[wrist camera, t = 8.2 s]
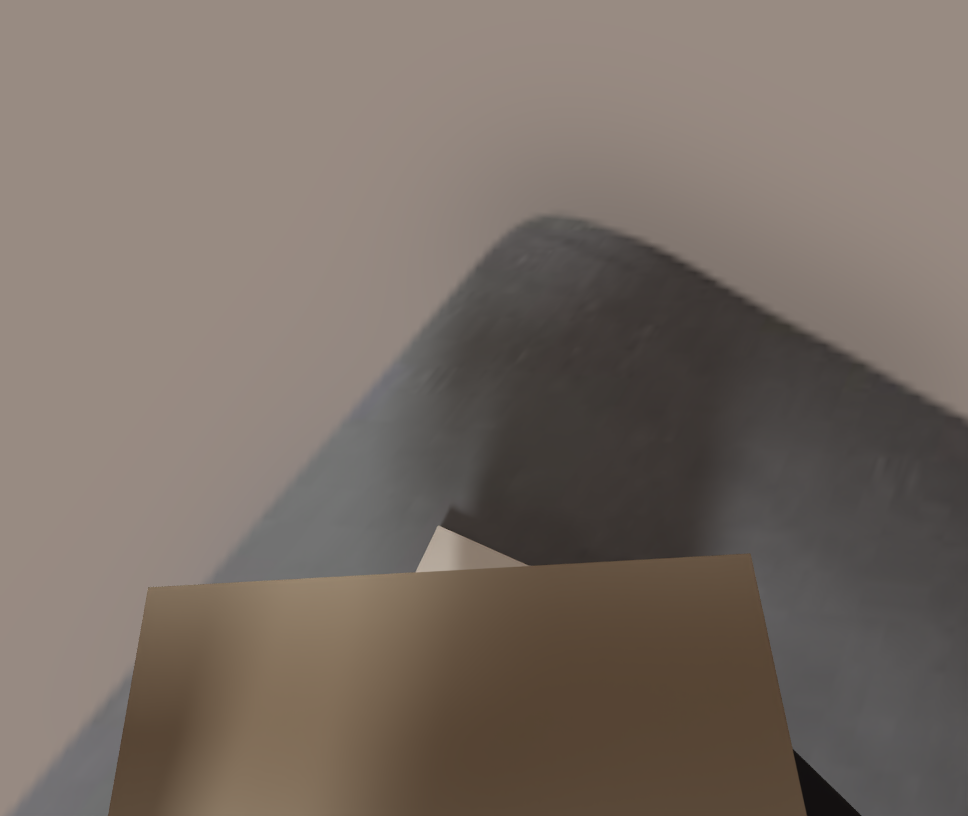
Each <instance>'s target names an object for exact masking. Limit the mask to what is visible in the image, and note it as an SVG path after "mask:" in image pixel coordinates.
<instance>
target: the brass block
mask: <svg viewBox="0 0 968 816" xmlns="http://www.w3.org/2000/svg"><path fill="white" fill-rule="evenodd" d="M108 816H807V814H806V810H805V805H804V800H803V796H802V791H801V786H800V782H799V777H798V772H797V768H796V763H795V758H794V754H793V749H792V744H791V740H790V735H789V731H788V726H787V721H786V717H785V712H784V707H783V703H782V698H781V693H780V689H779V684H778V679H777V675H776V670H775V665H774V661H773V656H772V651H771V647H770V642H769V638H768V633H767V628H766V624H765V619H764V614H763V610H762V605H761V600H760V596H759V591H758V586H757V582H756V577H755V572H754V568H753V563H752V558H751V554H734V555H716V556H698V557H681V558H663V559H645V560H627V561H609V562H592V563H574V564H556V565H538V566H521V567H503V568H485V569H467V570H450V571H432V572H414V573H396V574H379V575H361V576H343V577H325V578H308V579H290V580H272V581H254V582H237V583H219V584H201V585H184V586H167V587H149V588H148V592H147V597H146V603H145V609H144V615H143V620H142V626H141V632H140V637H139V643H138V649H137V654H136V660H135V666H134V671H133V677H132V683H131V688H130V694H129V700H128V705H127V711H126V717H125V723H124V728H123V734H122V740H121V745H120V751H119V757H118V762H117V768H116V774H115V779H114V785H113V791H112V797H111V802H110V808H109V814H108Z"/></svg>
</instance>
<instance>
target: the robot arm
mask: <svg viewBox="0 0 968 816" xmlns="http://www.w3.org/2000/svg"><path fill="white" fill-rule="evenodd" d="M793 754H794V758H795V763H796V768H797V772H798V777H799V782H800V786H801V791H802V796H803V800H804V805H805V810H806V814H807V816H861V815H860V814H859V813H858V812H857V811H856V810H855V809H854V808H853V807H852V806H851V805H850V804H849V803H848V802H847V801H846V800H845V799H844V798H843V797H842V796H841V795H840V794H839V793H838V792H837V791H836V790H835V789H834V788H832V787H831V786H830V785H829V784H828V783H827V782H826V781H825V780H824V779H823V778H822V777H821V776H820V775H819V774H818V773H817V772H816V771H815V770H814V769H813V768H812V767H811V766H810V765H809V764H808V763H807V762H806V761H805V760H804V759H803V758H802V757H801V756H800V755H799V754H797V753H796V752H795V751H794V750H793Z"/></svg>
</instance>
